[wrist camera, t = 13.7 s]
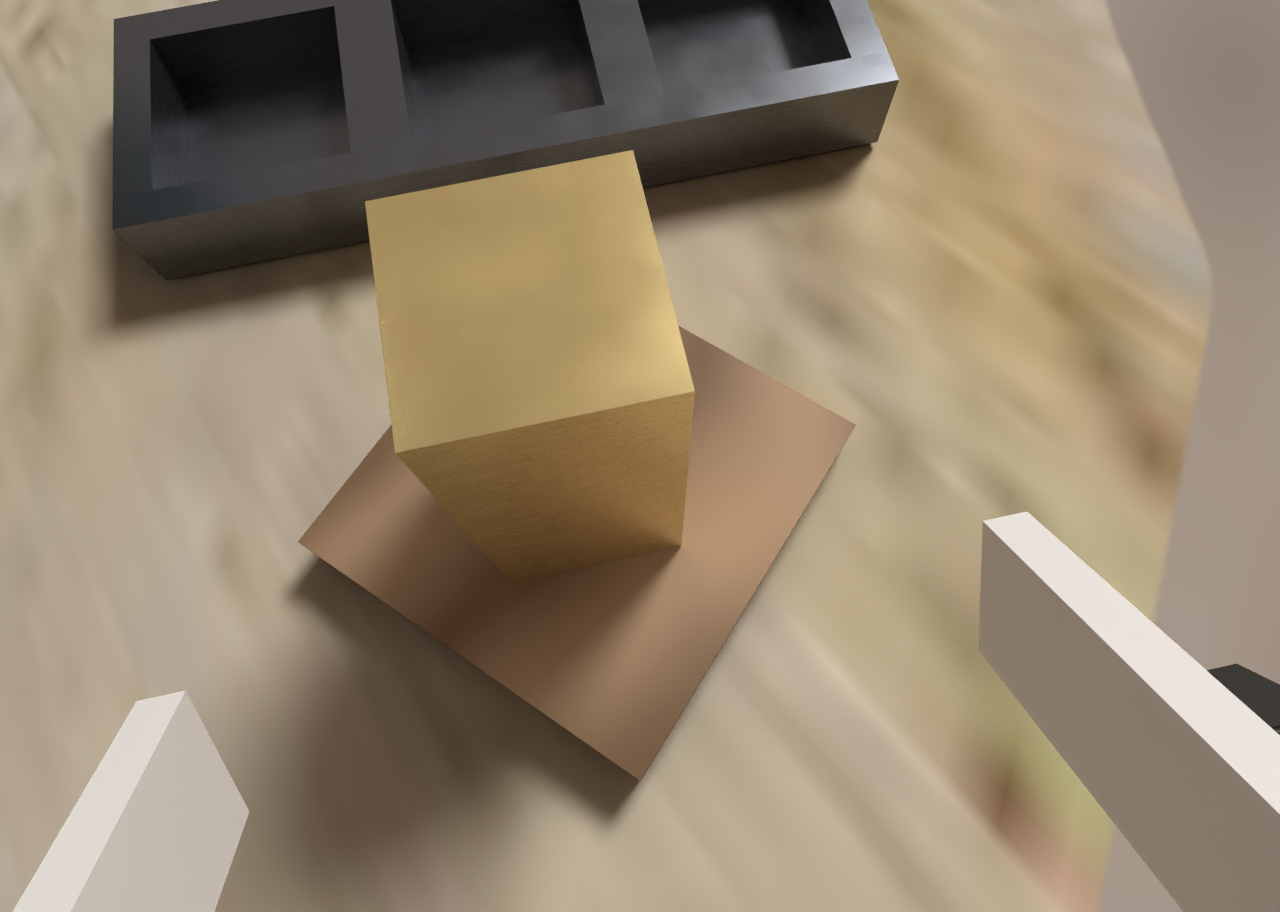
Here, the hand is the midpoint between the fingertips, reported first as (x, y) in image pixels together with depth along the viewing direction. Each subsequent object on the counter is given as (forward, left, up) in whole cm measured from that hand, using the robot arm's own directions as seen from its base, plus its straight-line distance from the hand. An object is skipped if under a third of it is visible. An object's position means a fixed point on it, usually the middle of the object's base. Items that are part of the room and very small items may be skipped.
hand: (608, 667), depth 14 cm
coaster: (-5, +4, -11) cm, 13 cm away
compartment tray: (-16, +15, -11) cm, 25 cm away
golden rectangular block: (-5, +4, -9) cm, 11 cm away
